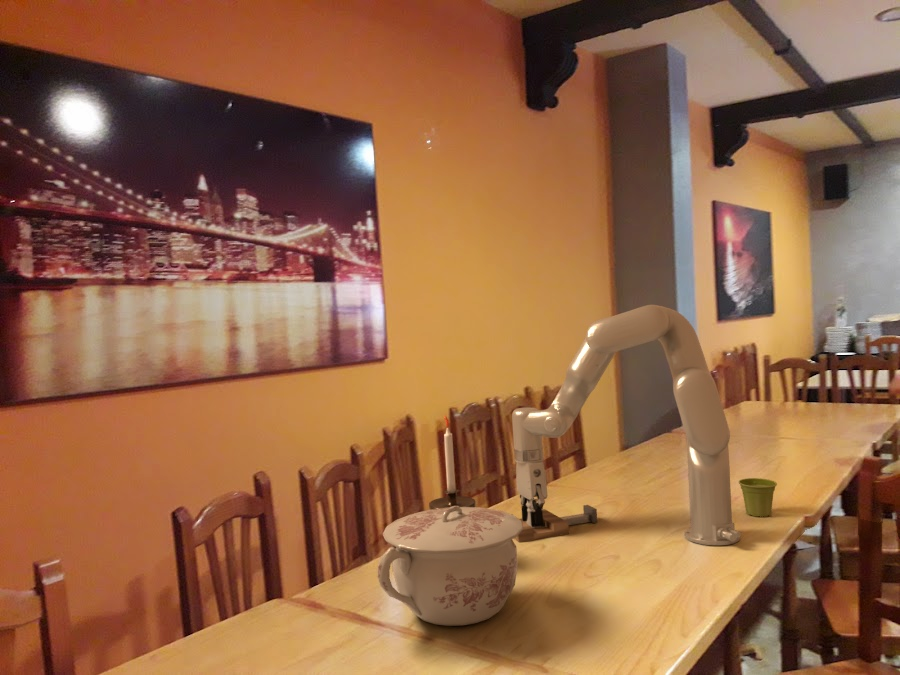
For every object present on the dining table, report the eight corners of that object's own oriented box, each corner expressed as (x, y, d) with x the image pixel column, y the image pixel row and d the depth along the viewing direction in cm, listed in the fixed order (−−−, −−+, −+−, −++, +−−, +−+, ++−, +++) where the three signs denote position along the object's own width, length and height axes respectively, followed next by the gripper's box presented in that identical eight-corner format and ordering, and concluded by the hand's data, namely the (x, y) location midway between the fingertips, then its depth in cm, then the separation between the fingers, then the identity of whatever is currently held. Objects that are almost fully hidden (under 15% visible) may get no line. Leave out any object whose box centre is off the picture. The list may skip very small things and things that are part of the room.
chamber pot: (518, 579, 149) (513, 484, 148) (539, 638, 122) (532, 522, 121) (388, 589, 148) (383, 493, 148) (380, 650, 121) (372, 533, 120)
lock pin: (597, 522, 185) (596, 509, 185) (559, 528, 182) (558, 515, 182) (588, 517, 190) (587, 504, 190) (550, 523, 187) (550, 510, 186)
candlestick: (426, 560, 164) (417, 414, 163) (468, 552, 168) (460, 409, 167) (442, 575, 154) (432, 419, 153) (486, 566, 158) (477, 414, 157)
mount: (568, 533, 178) (568, 522, 178) (518, 542, 174) (518, 530, 173) (545, 519, 191) (544, 509, 191) (498, 527, 187) (497, 516, 187)
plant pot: (774, 509, 188) (773, 478, 188) (781, 519, 179) (779, 486, 179) (737, 509, 191) (736, 477, 190) (742, 519, 181) (741, 486, 181)
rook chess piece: (530, 527, 185) (529, 497, 185) (544, 529, 183) (543, 499, 182) (521, 531, 182) (520, 501, 182) (536, 534, 179) (534, 504, 179)
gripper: (555, 458, 175) (560, 529, 175) (528, 448, 191) (532, 513, 191) (528, 462, 172) (533, 534, 173) (503, 451, 189) (507, 517, 189)
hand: (532, 522), depth 182 cm, fingers open, 5 cm apart
